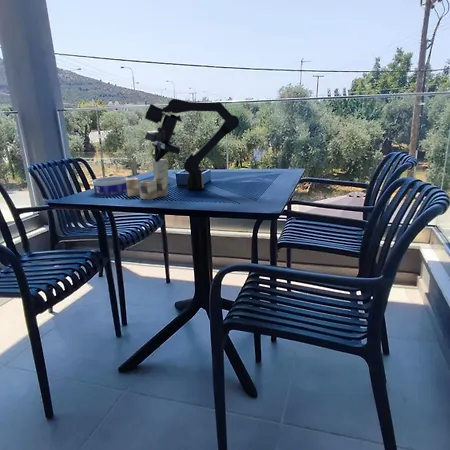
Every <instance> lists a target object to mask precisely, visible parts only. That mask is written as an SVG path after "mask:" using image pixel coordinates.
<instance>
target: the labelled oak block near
mask: <svg viewBox="0 0 450 450" xmlns="http://www.w3.org/2000/svg"><path fill="white" fill-rule="evenodd" d="M138 185H139V193H140V195H139V197H140V199H141V200H153V199H156V198H158V197H159V196H158V193H157V183H156V180H153V179H145V180H141V181H138Z"/></svg>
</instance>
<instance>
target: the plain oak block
mask: <svg viewBox="0 0 450 450" xmlns="http://www.w3.org/2000/svg"><path fill="white" fill-rule="evenodd" d="M126 186H127V191H126V193H127V197H133V196H134V197H136V196H140V188H139V179H138V177H127V178H126Z"/></svg>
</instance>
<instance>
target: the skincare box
mask: <svg viewBox="0 0 450 450" xmlns="http://www.w3.org/2000/svg"><path fill="white" fill-rule="evenodd" d="M151 162H152V163H151V164H152V173H153V179H155V178H167V185H168V184H170V179H169V168H168V159H167V158H161V159H160V160H159V161H158V162H155V159H153V160H152V159H151Z"/></svg>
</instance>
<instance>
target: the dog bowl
mask: <svg viewBox="0 0 450 450" xmlns="http://www.w3.org/2000/svg"><path fill="white" fill-rule="evenodd" d="M126 178H128V177H127V176H122V175H121V176H120V175H119V176H118V175H117V176H116V175H115V176H107V177H106V176H105V177H100V178H95V179H93V180H92V183H93V189H94V194H95V195H100V196H108V195H109V196H110V195H117V194H122V193H123V194H124V193H127V186H126Z"/></svg>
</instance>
